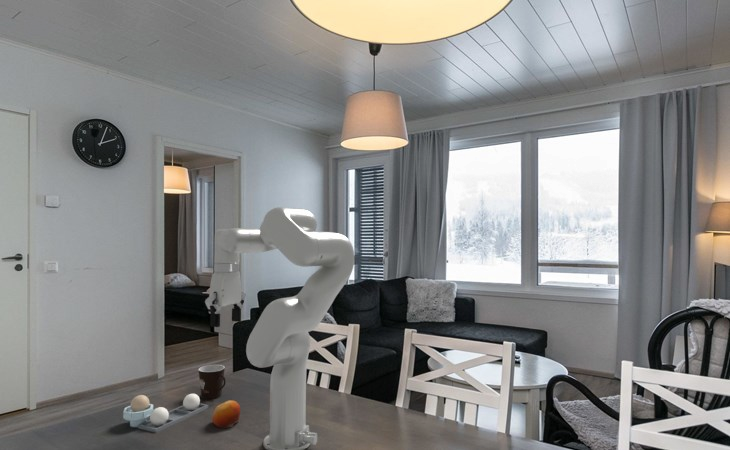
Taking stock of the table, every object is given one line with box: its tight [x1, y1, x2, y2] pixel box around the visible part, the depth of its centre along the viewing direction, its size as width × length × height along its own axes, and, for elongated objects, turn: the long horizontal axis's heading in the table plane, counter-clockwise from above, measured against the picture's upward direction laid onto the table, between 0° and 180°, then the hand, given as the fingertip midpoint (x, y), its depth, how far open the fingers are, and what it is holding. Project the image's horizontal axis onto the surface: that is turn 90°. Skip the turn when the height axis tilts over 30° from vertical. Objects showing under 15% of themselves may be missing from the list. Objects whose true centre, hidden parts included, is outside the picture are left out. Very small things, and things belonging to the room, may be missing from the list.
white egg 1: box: [149, 406, 169, 426], centre depth 132 cm, size 5×5×5 cm
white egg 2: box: [182, 393, 201, 410], centre depth 144 cm, size 5×5×5 cm
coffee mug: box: [198, 364, 226, 400], centre depth 155 cm, size 12×9×10 cm
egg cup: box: [122, 403, 154, 428], centre depth 132 cm, size 8×8×5 cm
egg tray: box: [137, 402, 209, 434], centre depth 137 cm, size 7×20×1 cm, turn 157°
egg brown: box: [129, 394, 150, 412], centre depth 133 cm, size 5×5×5 cm
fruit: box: [211, 400, 241, 429], centre depth 133 cm, size 8×8×8 cm
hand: (226, 323), depth 141 cm, fingers open, 9 cm apart
